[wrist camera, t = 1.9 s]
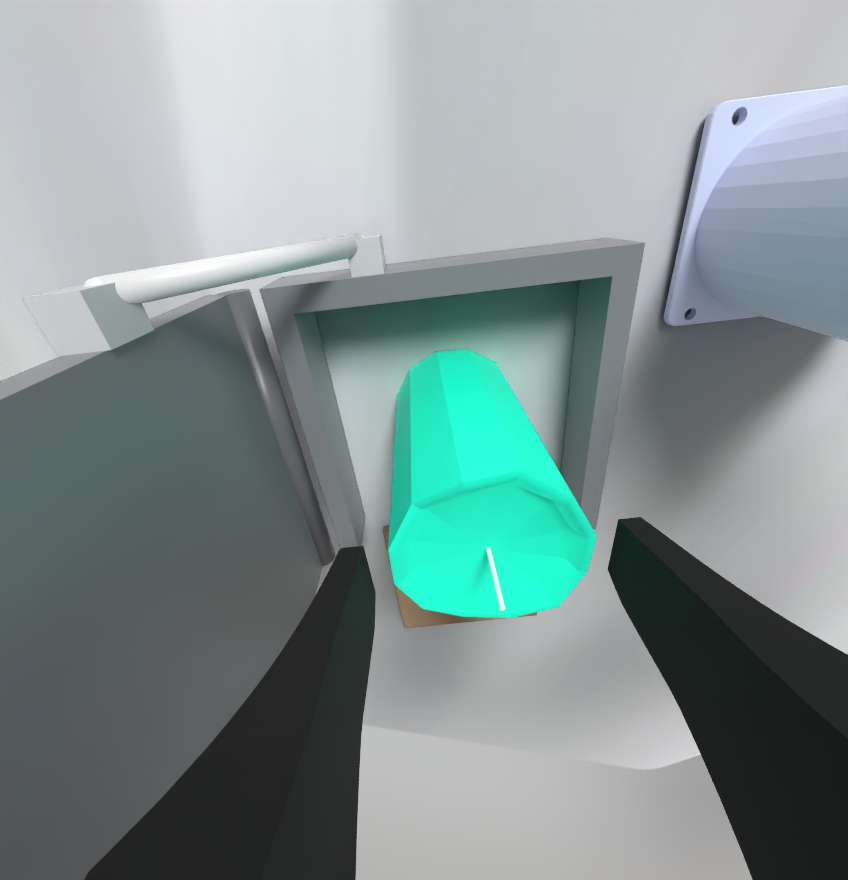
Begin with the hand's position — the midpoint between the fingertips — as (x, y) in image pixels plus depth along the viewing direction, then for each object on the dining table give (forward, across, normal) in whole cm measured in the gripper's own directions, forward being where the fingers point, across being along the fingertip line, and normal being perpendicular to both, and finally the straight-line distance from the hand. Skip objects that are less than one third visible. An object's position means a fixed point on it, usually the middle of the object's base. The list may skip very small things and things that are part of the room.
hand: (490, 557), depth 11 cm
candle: (+11, 0, 0) cm, 11 cm away
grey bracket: (+10, +1, -1) cm, 10 cm away
